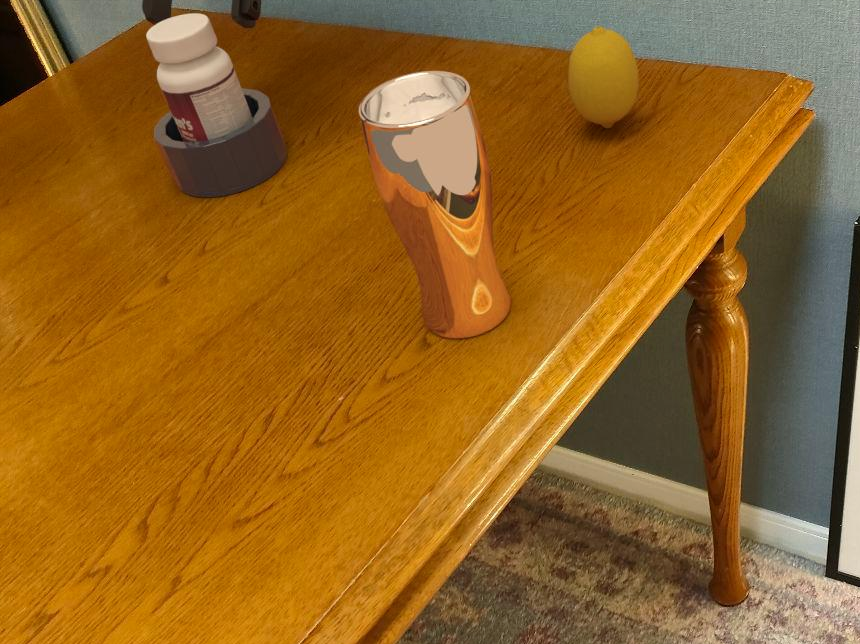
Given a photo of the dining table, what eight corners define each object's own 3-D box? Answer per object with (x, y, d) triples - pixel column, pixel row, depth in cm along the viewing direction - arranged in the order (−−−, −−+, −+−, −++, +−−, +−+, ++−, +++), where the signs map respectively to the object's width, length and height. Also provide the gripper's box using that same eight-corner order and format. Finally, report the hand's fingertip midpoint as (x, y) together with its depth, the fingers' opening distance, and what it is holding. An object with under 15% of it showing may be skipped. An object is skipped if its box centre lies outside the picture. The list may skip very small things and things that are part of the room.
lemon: (567, 144, 81) (553, 44, 75) (585, 110, 85) (573, 12, 79) (633, 145, 80) (624, 43, 74) (649, 110, 83) (642, 10, 77)
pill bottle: (186, 163, 88) (127, 31, 80) (247, 134, 90) (196, 3, 82) (213, 187, 85) (154, 51, 76) (276, 156, 86) (226, 21, 78)
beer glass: (493, 349, 65) (442, 131, 54) (400, 337, 68) (332, 125, 56) (532, 286, 69) (492, 69, 58) (443, 276, 72) (388, 67, 60)
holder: (153, 188, 87) (129, 139, 84) (227, 131, 92) (208, 83, 89) (236, 205, 83) (215, 154, 80) (310, 144, 88) (293, 94, 85)
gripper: (111, -213, 78) (95, 5, 80) (264, -229, 73) (243, 3, 75) (177, -157, 85) (161, 42, 87) (321, -168, 80) (300, 43, 82)
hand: (199, 24), depth 81 cm, fingers open, 8 cm apart
